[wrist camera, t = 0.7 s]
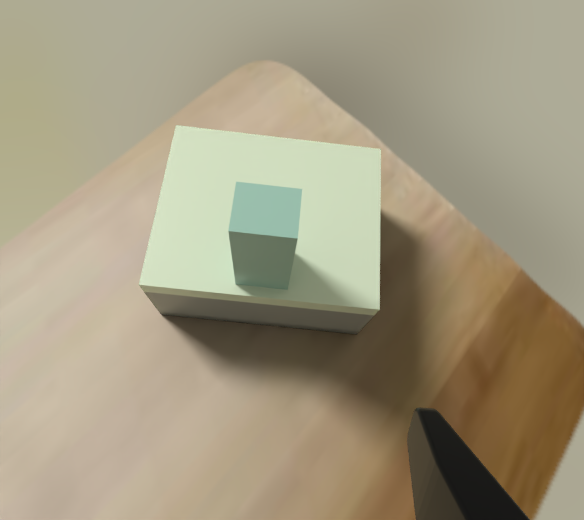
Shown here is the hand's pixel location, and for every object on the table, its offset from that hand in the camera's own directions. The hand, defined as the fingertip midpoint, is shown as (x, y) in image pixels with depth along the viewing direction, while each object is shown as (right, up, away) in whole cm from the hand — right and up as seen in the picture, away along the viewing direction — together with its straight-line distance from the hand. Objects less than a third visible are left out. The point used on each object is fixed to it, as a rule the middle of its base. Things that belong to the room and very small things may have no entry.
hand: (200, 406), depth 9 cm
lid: (+1, +5, +13) cm, 14 cm away
